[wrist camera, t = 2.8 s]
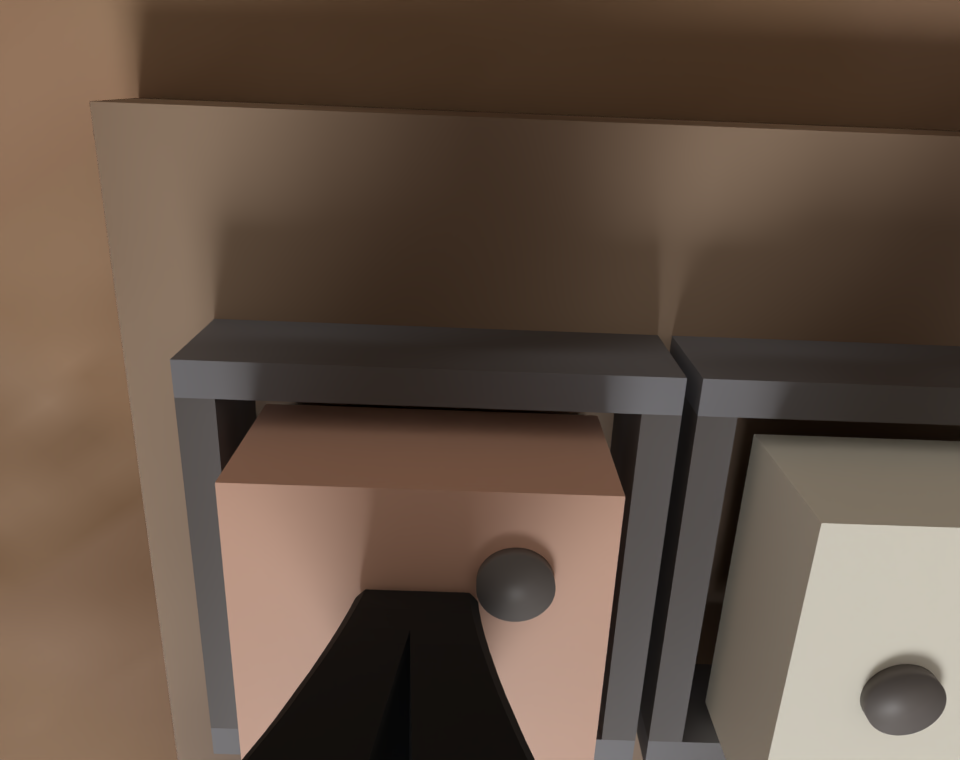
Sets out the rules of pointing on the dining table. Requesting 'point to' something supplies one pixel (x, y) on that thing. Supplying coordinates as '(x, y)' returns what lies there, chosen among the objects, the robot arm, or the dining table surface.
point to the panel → (523, 329)
